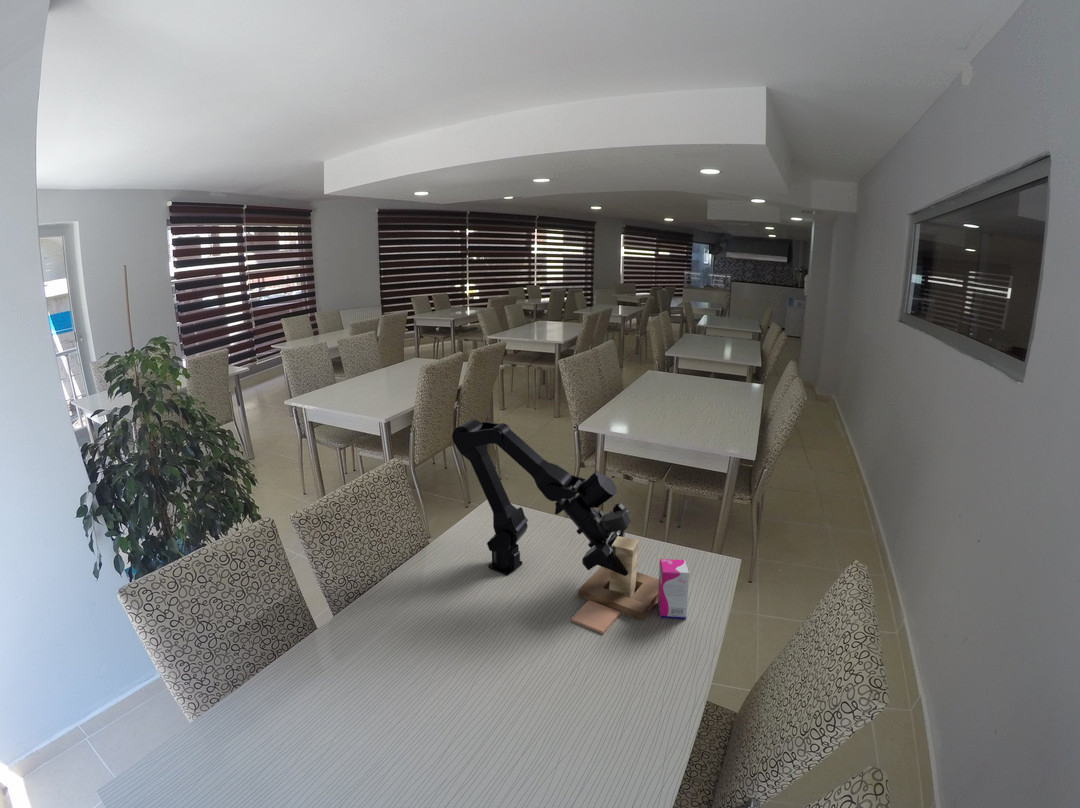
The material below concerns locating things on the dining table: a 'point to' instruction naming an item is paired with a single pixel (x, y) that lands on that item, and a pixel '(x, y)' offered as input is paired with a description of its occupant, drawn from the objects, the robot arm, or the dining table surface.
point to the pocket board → (633, 606)
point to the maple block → (628, 558)
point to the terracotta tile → (595, 616)
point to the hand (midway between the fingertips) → (629, 568)
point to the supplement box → (673, 588)
